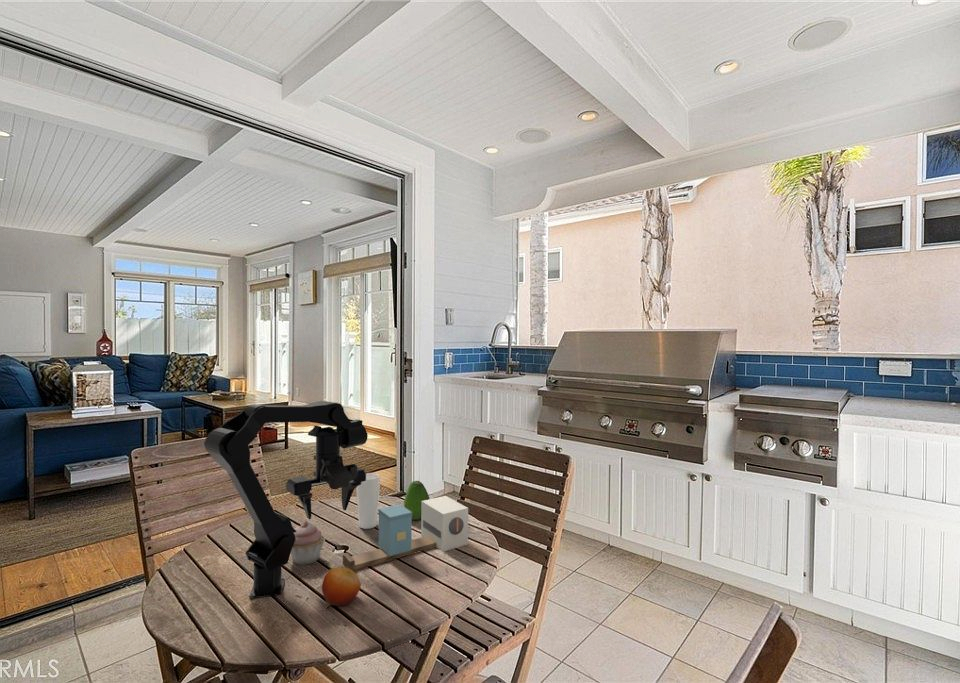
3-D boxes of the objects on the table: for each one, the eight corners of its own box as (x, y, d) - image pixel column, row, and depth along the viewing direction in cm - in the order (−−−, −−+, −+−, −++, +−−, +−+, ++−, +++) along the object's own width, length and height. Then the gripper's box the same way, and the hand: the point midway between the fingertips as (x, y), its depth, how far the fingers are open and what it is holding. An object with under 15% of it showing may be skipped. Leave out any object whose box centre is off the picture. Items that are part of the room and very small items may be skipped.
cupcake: (277, 563, 119) (277, 523, 119) (305, 548, 128) (306, 511, 127) (305, 571, 115) (306, 530, 115) (333, 555, 124) (333, 517, 124)
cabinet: (444, 553, 126) (444, 515, 125) (421, 536, 136) (421, 501, 136) (469, 545, 130) (470, 509, 130) (445, 529, 141) (445, 495, 141)
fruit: (311, 590, 104) (331, 556, 106) (343, 602, 107) (363, 569, 108) (312, 610, 97) (334, 573, 98) (347, 623, 99) (367, 586, 100)
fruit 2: (432, 514, 152) (432, 477, 152) (426, 524, 144) (427, 485, 144) (407, 513, 153) (407, 476, 153) (401, 523, 145) (401, 484, 145)
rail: (349, 571, 115) (349, 561, 115) (342, 563, 119) (342, 553, 119) (436, 546, 129) (436, 538, 129) (427, 540, 133) (427, 531, 133)
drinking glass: (355, 523, 145) (355, 474, 145) (378, 520, 147) (378, 472, 147) (356, 531, 139) (357, 480, 139) (380, 529, 141) (380, 478, 141)
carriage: (390, 556, 120) (390, 517, 120) (378, 546, 126) (378, 508, 126) (412, 550, 124) (412, 512, 123) (399, 540, 130) (399, 504, 129)
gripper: (304, 464, 107) (303, 534, 107) (377, 452, 120) (376, 514, 120) (285, 455, 115) (284, 520, 115) (356, 444, 128) (355, 502, 128)
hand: (327, 514), depth 119 cm, fingers open, 9 cm apart
